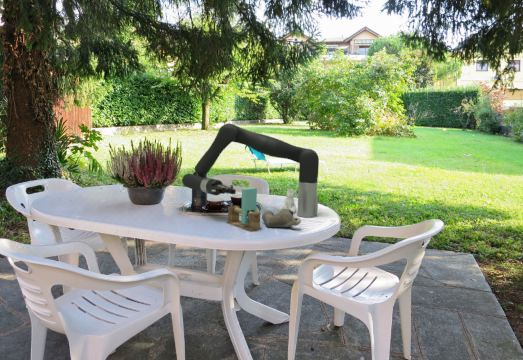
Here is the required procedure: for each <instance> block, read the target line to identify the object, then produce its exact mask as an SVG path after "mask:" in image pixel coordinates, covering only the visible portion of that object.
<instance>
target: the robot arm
mask: <svg viewBox="0 0 523 360" xmlns="http://www.w3.org/2000/svg"><path fill="white" fill-rule="evenodd" d="M231 143H237V144H242V145H244V146H246V147H248V148H250V149H252V150H253V151H256V152H258V153H260V154H263V155H266V156H269V157H273V158H279V159H285V160H291V161H293V162H295V163H298V164H299V166H298V167H299V171H298V191H297V194H298V195H297V209H296V210H297V214H296V215H297V216H299V217H302V218H314V217H318V208H319V207H318V206H319V205H318V204H319V197H318V196H317V195H318V179H319V163H320V161H319V159H320V158H319V155H318V153H317V151H315V150H314V149H311V148H305V147H300V146H296V145H293V144H291V143H289V142H286V141H284V140H281V139H279V138H276V137H274V136H273V137H272V136H270V135H266V134H262V133H258V132H254V131H250V130H247V129H246V128H243V127H240V126H237V125H236V124H233V123H225V124H222V125H221V126H220V128H219V129H218V132H217V134H216V136H215V138H214V140H213V141H212V143H211V145H210V146H209V147H208V149H207V151H206V152H204V154H203V155H202V157H200V159H199V161H198V162H197V163H196V164H195V166H194V171H195V172H196V173H197V175H196V174H193V173H191V172H190V173H186V174H184V175H183V176H182V179H181V182H182V184H183V186H184V187H186V188H188V189H192V190H194V191H200V192H204V193H206V194H207V195H209V194H210V195H212V196H219V195H221V194H222V195H223V194H230V195H235V194H236V193H237V191H236V190H237V189H236V188H235V189H234V185H232V184H230V185H227V184H225V183H223V182H222V180H219V179H215V178H210V177H209V178H208V177H206V176H207V174H208V173H209V172H210V171H211V169H212V168H213V166H214V165H215V163H216V162H217V160H218V158H219V157H220V155H221V154H222V153H223V151H224V150H225V149H226V148H227V147H228V146H229V145H230V144H231Z"/></svg>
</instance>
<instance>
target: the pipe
mask: <svg viewBox="0 0 523 360" xmlns="http://www.w3.org/2000/svg"><path fill="white" fill-rule="evenodd" d="M294 214H295V213H293V211H291V210H289V209H284V210H282V211H280V212H279V211H277V213H274V212H273V211H272V210H269V209H268V210H265V211H264V212H263V213H262V214H261V219H262V221H263V223H265V225H266V227H268V228H291V227H293V226H299V225H300V224H301V222H302V220H301V218H300V217H296V216H294Z"/></svg>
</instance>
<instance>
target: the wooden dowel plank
mask: <svg viewBox="0 0 523 360" xmlns="http://www.w3.org/2000/svg"><path fill="white" fill-rule="evenodd" d="M227 208H228V209H227V210H228V214H227V221H226V224H229V225H232V226H235V227H236V228H237V227H238V228H239V229H242V230H244V231H248V232H251V233H252V232H256V231H260V230H262V227H261V212H259V211H256V212H252V211H251V210H248V211H247V217H249V223H248V224H243V223H241V219H240V215H241V210H242V207H240V206H239V205H235V204H234V205H230V206H228V207H227Z"/></svg>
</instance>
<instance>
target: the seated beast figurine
mask: <svg viewBox="0 0 523 360" xmlns="http://www.w3.org/2000/svg"><path fill="white" fill-rule="evenodd" d="M297 194H298V191H295V190H294V189H292V188H287V190H286V196H287V197H285V200H284V205H282V206H279V207H278V208H277V212H280V211H282V210H284V209H289V210H291V211H293V213H294V214H295V213H296V207H297V206H296V204H295V199H294V197H295V195H297Z"/></svg>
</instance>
